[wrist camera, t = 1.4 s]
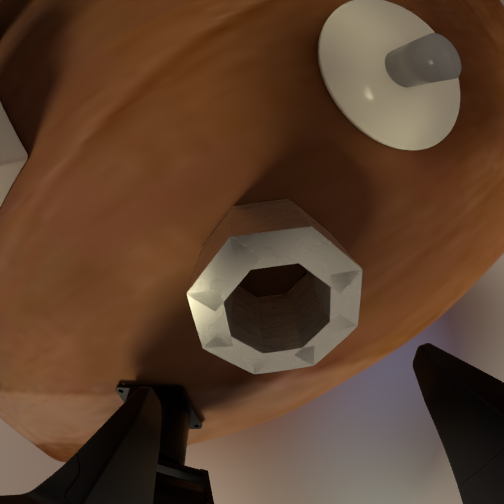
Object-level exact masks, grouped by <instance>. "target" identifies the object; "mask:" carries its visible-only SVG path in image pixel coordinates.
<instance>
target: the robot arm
mask: <svg viewBox="0 0 504 504" xmlns="http://www.w3.org/2000/svg"><path fill="white" fill-rule="evenodd" d="M413 369H414V372H415V375H416V377H417V380H418V383H419V386H420V389H421V392H422V395H423V398H424V401H425V403H426V406H427V408H428V410H429V413H430V415H431V417H432V419H433V422H434V424H435V426H436V429H437V431H438V434H439V436H440V439H441V441H442V443H443V446H444V448H445V451H446V454H447V456H448V459H449V462H450V465H451V467H452V470H453V473H454V476H455V479H456V482H457V485H458V489H459V492H460V495H461V499H462V502H463V504H504V382H503V383H502V381H500V380H498V379H496V378H494V377H493V376H491V375H489V374H487V373H485V372H483V371H481V370H479V369H477V368H476V367H474V366H472V365H470V364H468V363H466V362H464V361H462V360H460V359H458V358H457V357H454V356H453V355H451V354H449V353H447V352H445V351H443V350H441V349H439V348H438V347H436V346H434V345H432V344H430V343H426V344H424V345H420V346H419V347H418V348H417V351H416V354H415V357H414V360H413ZM116 391H117V393H118V394H119V396H120V397H121V398H122V400H123V401H124V404H123V405H122V406H121V407H120V408H119V409H118V410H117V411H116V412H115V413H114V414H113V415H112V416H111V417H110V418H109V419H108V421H107V422H106V423H105V424H104V425H103V426H102V427H101V428H100V429H99V430H98V431H97V432H96V433H95V434H94V435H93V436H92V437H91V438H90V439H89V440H88V441H87V442H86V443H85V444H84V445H83V446H82V447H81V448H80V449H79V450H78V453H75V454H74V456H73V457H72V458H71V459H70V460H68V461H67V462H66V463H65V464H64V465H63V466H62V467H61V468H60V469H59V470H58V471H56V472H55V473H54V474H53V475H52V476H50V477H49V478H48V479H46V480H45V481H44V482H43V483H42V484H40V485H39V486H37V487H36V488H35V489H33V490H32V491H30V492H28V493H25V494H21V495H6V496H0V504H214V501H213V496H212V491H211V486H210V480H209V475H208V471H207V470H203V469H200V470H199V469H195V468H192V467H188V466H184V464H185V456H186V448H187V439H188V431H189V429H200V428H201V427H202V422H201V420H200V419H199V417H198V415H197V413H196V411H195V409H194V407H193V405H192V403H191V401H190V399H189V397H188V395H187V393H186V391H185V389H184V388H183V387H181V386H147V385H123V384H118V385H117V387H116Z"/></svg>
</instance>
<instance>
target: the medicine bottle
mask: <svg viewBox="0 0 504 504" xmlns="http://www.w3.org/2000/svg"><path fill="white" fill-rule="evenodd" d="M27 159H28V154H27V152H26V150H25V149H24V147H23V145H22V143H21V142H20V140H19V138H18V136H17V134H16V132H15V130H14V128H13V126H12V124H11V122H10V120H9V118H8V116H7V114H6V112H5V110H4V108H3V106H2V103H1V101H0V207H1V205H2V203H3V201H4V199H5V197H6V195H7V194H8V192H9V190H10V188H11V186H12V184H13V183H14V181H15V179H16V177H17V176H18V174H19V172H20V171H21V169H22V167H23V166H24V164H25V163H26V161H27Z"/></svg>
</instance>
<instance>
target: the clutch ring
mask: <svg viewBox="0 0 504 504" xmlns="http://www.w3.org/2000/svg"><path fill="white" fill-rule="evenodd" d="M296 263H299V264H300V265H302V266H303V267H304V268H306V273H305V274H304V275H303V276H302V277H301V278H300V280H299V281H298V282H297V283H296V284H295V285H294V286H293V287H292V288H291V289H290V290H289V291H288V293H285V294H278V295H271V296H264V297H256V296H254V295H253V294H251V293H250V292H248V291H246V290H245V289H243V288H242V287H240V286H239V285H238V284H239V283H240V282H241V281H242V280H243V278H244V277H245V276H246V275H247V274H248V273H249V271H250V270H252V269H260V268H267V267H274V266H282V265H289V264H296ZM362 270H363V269H362V268H361V267H360V266H359V265H358V264H357V262H356V261H355V260H354V259H353V258H352V257H351V256H350V254H349V253H348V252H347V251H346V250H345V249H344V248H343V247H342V245H341V244H340V243H339V242H338V241H337V240H336V239H335V238H334V237H333V236H332V234H331V233H330V232H329V231H328V230H326V229H325V228H324V227H323V226H322V225H321V224H319V223H318V222H317V221H316V220H315V219H313V218H312V217H311V216H310V215H309V214H307V213H306V212H305V211H304V210H302V209H301V208H300V207H299V206H298V205H296V204H295V203H294V202H293V201H291V200H290V199H281V200H273V201H265V202H257V203H249V204H242V205H235V206H233V207H232V208H231V209H230V211H229V212H228V213H227V215H226V216H225V217H224V219H223V220H222V221H221V223H220V224H219V225H218V227H217V228H216V229H215V231H214V232H213V233H212V235H211V236H210V237H209V239H208V240H207V241H206V243H205V244H204V245H203V247H202V248H201V251H200V254H199V257H198V260H197V263H196V266H195V269H194V272H193V275H192V278H191V281H190V284H189V287H188V290H187V293H186V294H187V297H188V301H189V305H190V308H191V311H192V315H193V318H194V322H195V325H196V328H197V331H198V335H199V338H200V341H201V344H202V347H203V349H205V350H207V351H208V352H210V353H212V354H214V355H216V356H218V357H220V358H222V359H224V360H226V361H228V362H230V363H232V364H234V365H236V366H238V367H240V368H242V369H244V370H246V371H248V372H251V373H253V374H261V373H269V372H277V371H284V370H290V369H297V368H303V367H309V366H314V365H315V364H316V363H317V362H319V361H320V360H321V359H322V358H323V357H324V356H326V355H327V354H328V353H329V352H330V351H331V350H332V349H334V348H335V347H336V346H337V345H338V344H339V343H340V342H341V341H342V340H343V339H345V338H346V337H347V336H348V335H349V334H350V333H351V332H352V331H353V330H354V329H355V328H356V327H357V326H358V318H359V308H360V297H361V285H362Z"/></svg>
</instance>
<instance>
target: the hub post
mask: <svg viewBox="0 0 504 504" xmlns="http://www.w3.org/2000/svg"><path fill="white" fill-rule="evenodd" d="M318 62H319V67H320V71H321V75H322V78H323V80H324V83H325V86H326V88H327V90H328V92H329V94H330V96H331V97H332V99H333V100H334V102H335V104H336V105H337V107H338V108H339V109H340V110H341V112H342V113H343V114H344V116H345V117H346V118H347V119H348V120H349V121H350V122H351V123H352V124H353V125H354V126H355V127H356V128H358V129H359V130H360V131H361V132H363V133H364V134H365V135H367V136H368V137H370V138H371V139H373V140H375V141H377V142H379V143H381V144H383V145H386V146H388V147H392V148H396V149H403V150H422V149H427V148H430V147H432V146H434V145H436V144H438V143H439V142H441V141H442V140H443V139H444V138H445V137H446V136H447V135H448V134H449V132H450V131H451V130H452V128H453V126H454V124H455V122H456V119H457V116H458V112H459V108H460V85H459V79H458V76H459V75H460V73H461V61H460V57H459V55H458V53H457V51H456V49H455V47H454V46H453V45H452V43H451V42H450V41H449V40H448V39H446V38H445V37H444V36H442V35H440V34H437V33H435V32H434V31H433V30H432V29H431V28H430V27H429V26H428V25H427V24H426V23H425V22H424V21H423V20H421V19H420V18H419V17H418V16H416V15H415V14H413V13H412V12H410V11H409V10H407V9H405V8H403V7H401V6H399V5H397V4H394V3H391V2H388V1H384V0H354V1H350V2H348V3H345V4H343V5H342V6H340V7H339V8H337V9H336V10H335V11H334V12H333V13H332V14H331V15H330V16H329V18H328V19H327V20H326V22H325V24H324V25H323V27H322V30H321V32H320V35H319V40H318Z"/></svg>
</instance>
